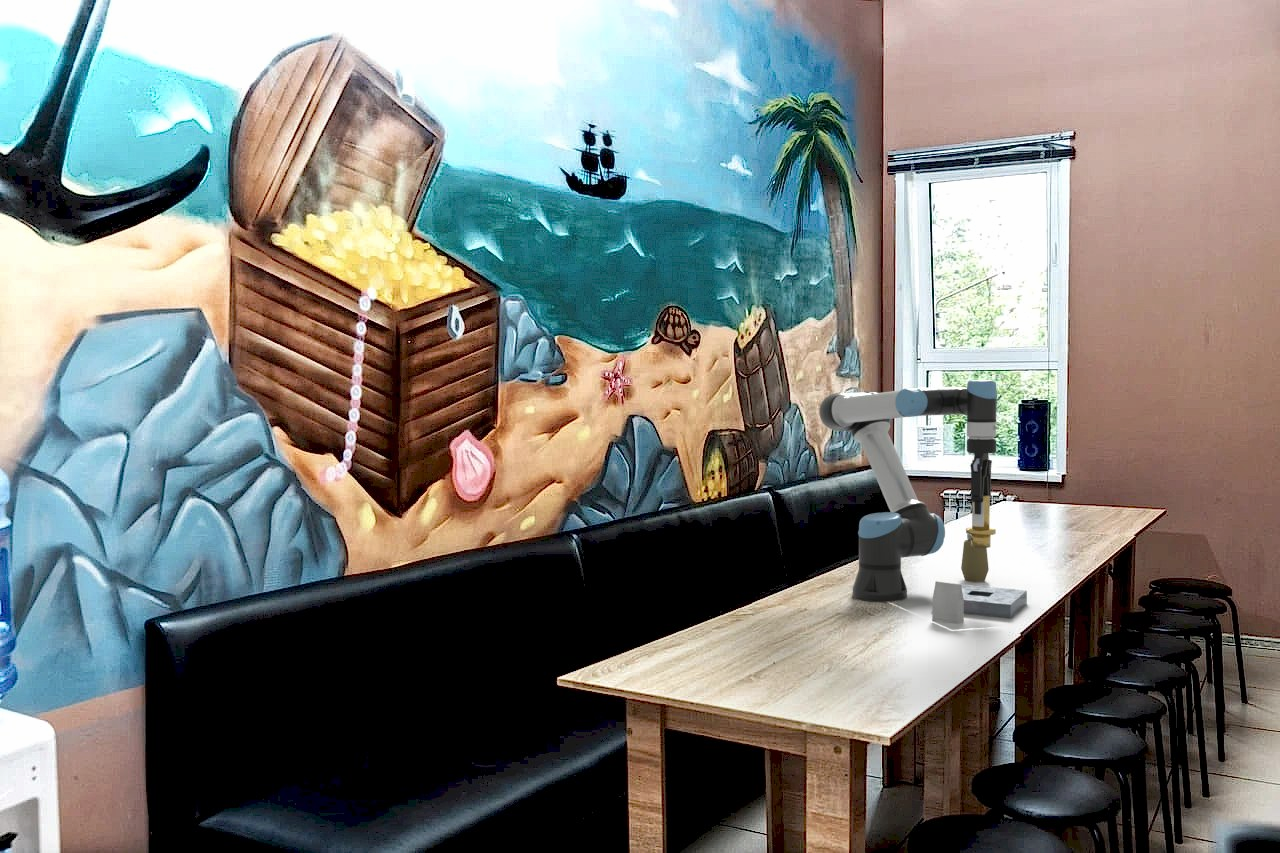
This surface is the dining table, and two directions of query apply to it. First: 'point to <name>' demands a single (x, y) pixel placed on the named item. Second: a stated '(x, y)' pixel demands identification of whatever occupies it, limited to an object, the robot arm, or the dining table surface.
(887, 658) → the dining table surface
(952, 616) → the tea bag
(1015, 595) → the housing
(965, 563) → the squeeze bottle
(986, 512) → the brass door knob
